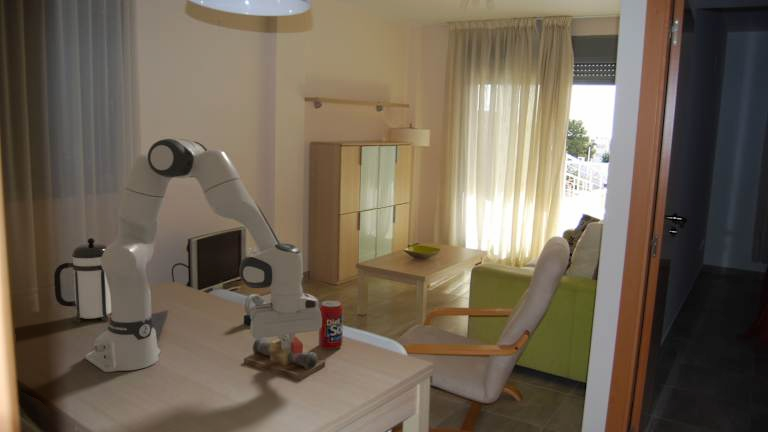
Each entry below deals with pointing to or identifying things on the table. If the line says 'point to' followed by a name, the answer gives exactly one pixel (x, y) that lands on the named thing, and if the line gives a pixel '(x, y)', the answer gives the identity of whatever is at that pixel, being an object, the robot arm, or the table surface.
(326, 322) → the soda can
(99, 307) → the coffee press
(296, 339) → the valve lever
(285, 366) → the valve mount
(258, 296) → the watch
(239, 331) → the table surface
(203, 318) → the table surface
